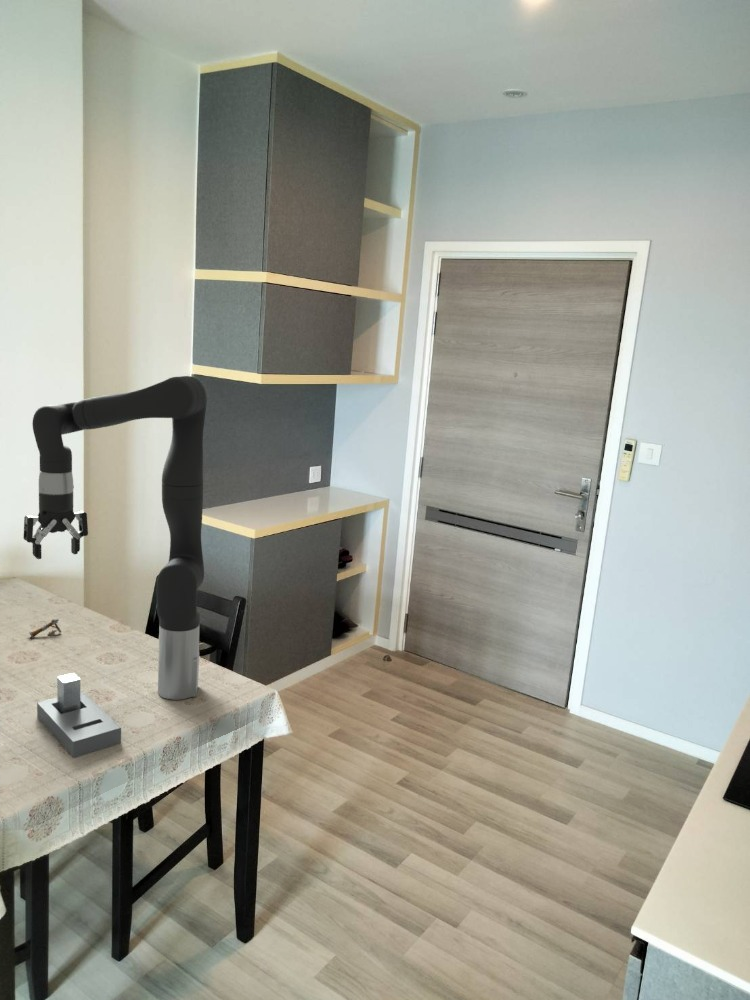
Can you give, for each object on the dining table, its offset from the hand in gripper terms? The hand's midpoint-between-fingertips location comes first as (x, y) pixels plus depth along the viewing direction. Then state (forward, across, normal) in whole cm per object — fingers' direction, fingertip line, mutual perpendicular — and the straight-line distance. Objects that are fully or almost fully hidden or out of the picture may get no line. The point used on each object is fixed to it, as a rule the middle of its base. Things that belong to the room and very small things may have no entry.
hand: (56, 555), depth 181 cm
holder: (+30, +6, +29) cm, 43 cm away
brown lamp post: (+30, -6, -24) cm, 39 cm away
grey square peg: (+30, +7, +24) cm, 39 cm away
